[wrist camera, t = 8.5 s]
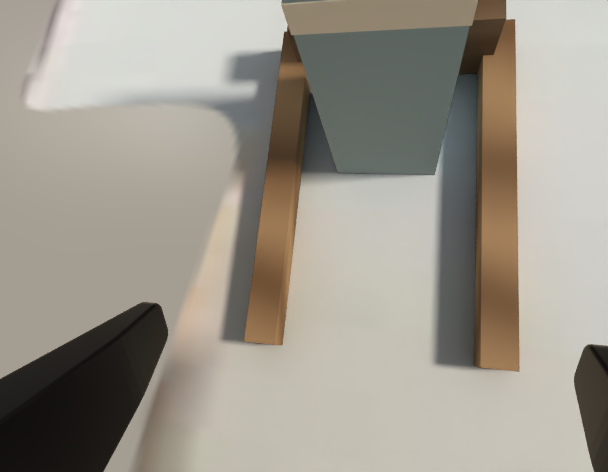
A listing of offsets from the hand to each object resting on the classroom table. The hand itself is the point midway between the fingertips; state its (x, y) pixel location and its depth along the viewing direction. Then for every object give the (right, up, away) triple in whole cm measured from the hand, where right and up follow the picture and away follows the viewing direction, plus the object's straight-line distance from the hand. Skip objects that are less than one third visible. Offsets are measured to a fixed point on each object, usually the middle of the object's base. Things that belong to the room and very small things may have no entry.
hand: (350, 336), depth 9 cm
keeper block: (+3, +8, +14) cm, 16 cm away
